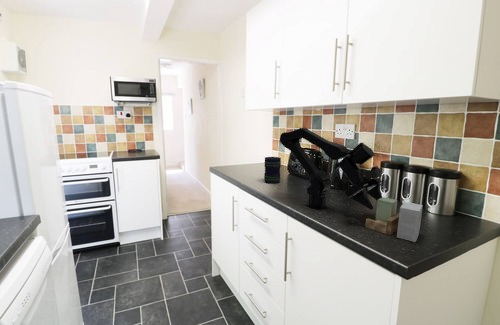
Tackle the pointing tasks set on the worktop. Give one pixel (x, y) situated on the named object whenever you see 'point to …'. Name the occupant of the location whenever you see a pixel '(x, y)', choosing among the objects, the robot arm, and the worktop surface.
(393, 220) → the wooden stepped block
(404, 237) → the small box
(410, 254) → the worktop surface
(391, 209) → the green rectangular block
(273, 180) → the storage jar
